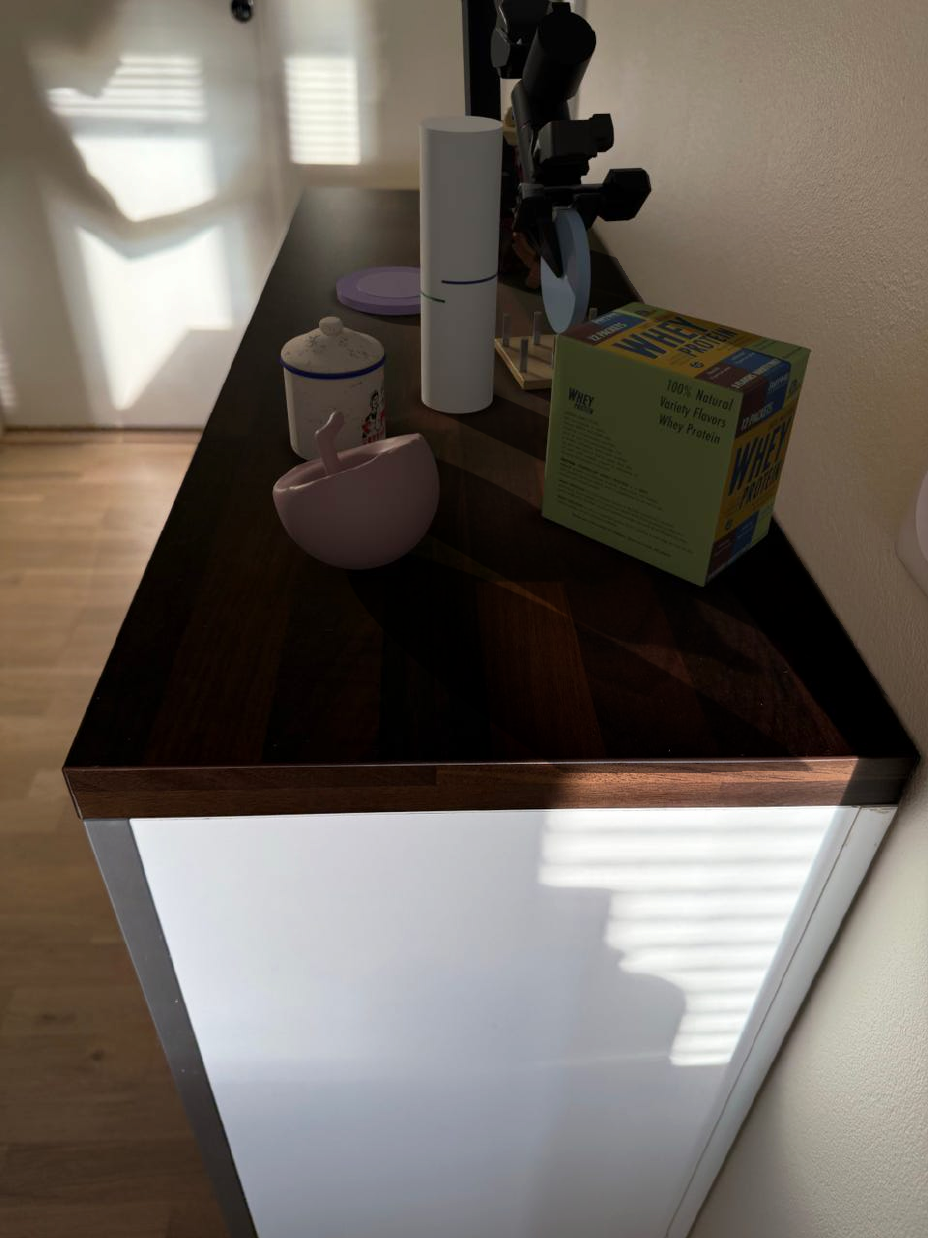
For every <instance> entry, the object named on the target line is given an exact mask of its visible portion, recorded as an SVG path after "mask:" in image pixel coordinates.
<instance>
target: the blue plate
mask: <svg viewBox="0 0 928 1238" xmlns="http://www.w3.org/2000/svg"><path fill="white" fill-rule="evenodd" d="M552 215H553V223H554V227H555V232H556V236H557V240H558V244H559V249H560V253H561V257H562V266H563V275H562V277H561V278H557V277H556V276H555V275H554V273H553V272H552V270H551V269H550V268H549V266H548V265H547V263H546V262H545V261H544V259H543V258H542V257H541V293H542V300H543V301H542V302H543V306H544V310H545V313H546V317H547V320H548V322H549V324H550V326H551V328H552V330H553V331H554V332H555V333H556V334H558V333H562V332H564V331H567V330H569V329H571V328H574V327H576V326H578V325H581V324H583V323H584V320H585V318H586V315H587V310H588V305H589V300H590V292H591V275H592V274H591V272H592V271H591V269H592V268H591V255H590V254H591V253H590V245H589V238H588V235H587V234H588V233H587V234H586V230H585V227H584V224H583V221H582V219H581V217H580V215H579V214H578V212H577V211H576V210H574V209H571V208H568V209H567V208H557V209H554V211H553V212H552Z"/></svg>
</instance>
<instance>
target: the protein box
mask: <svg viewBox="0 0 928 1238" xmlns="http://www.w3.org/2000/svg"><path fill="white" fill-rule="evenodd" d="M557 334H558V333H557ZM811 353H812V349H810V348H808V347H805V346H801V345H798V344H794V343H790V342H786V341H783V340H779V339H774V338H770V337H766V336H762V335H759V334H756V333H753V332H749V331H745V330H743V329H739V328H737V327H736V328H735V327H732V326H728V325H724V324H721V323H717V322H715V321H714V322H713V321H710V320H706V319H702V318H698V317H694V316H691V315H686V314H683V313H679V312H675V311H672V310H669V309H665V308H661V307H658V306H654V305H651V304H646V303H643V302H638V301H632V302H630V303H627V304H626V305H624V306H620V307H619V308H616V309H613V310H612V311H609V312H607V313H605V314H602V315H600V316H597V318H595V319H593V320H590V321H589V320H588V321H585V322H583V323H582V324H581V325H578V326H576V327H574V328H571V329H569V330H567V331H564V332H562V333H559V334H558V335H557V336H556V345H555V357H554V368H553V381H552V388H551V392H550V393H551V395H550V407H549V418H548V419H549V420H548V431H547V443H546V452H545V453H546V455H545V467H544V479H543V489H542V491H543V492H542V500H541V502H542V503H541V511H540V514H541V517H542V518H545V519H546V520H549V521H552V522H554V523H556V524H558V525H560V526H562V527H565V528H567V529H570V530H571V531H573V532H576V533H579V534H581V535H583V536H585V537H587V538H590V539H593V540H595V541H597V542H599V543H601V544H603V545H606V546H608V547H610V548H612V549H614V550H617V551H619V552H622V553H624V554H626V555H628V556H630V557H633V558H635V559H637V560H639V561H642V562H644V563H646V564H648V565H651V566H653V567H656V568H657V569H660V570H662V571H665V573H669V574H671V575H673V576H676V577H677V578H680V579H683V580H685V581H687V582H689V583H691V584H694V585H696V586H698V587H701V588H704V587H706V586H707V585H708V584H709V583H710V582H711V581H712V580H713V579H715V578H716V577H717V576H719V575H720V574H721V573H722V572H723V571H725V570H726V569H727V568H728V567H730V566H731V565H732V564H733V563H734V562H736V561H737V560H738V559H739V558H740V557H742V556H743V555H744V554H745V553H747V552H748V551H749V550H750V549H751V548H753V547H754V546H755V545H757V543H759V542H760V541H761V540H762V539H764V538H765V537H766V536H767V535H768V533H769V529H770V524H771V520H772V516H773V512H774V507H775V503H776V498H777V493H778V489H779V485H780V481H781V476H782V472H783V469H784V468H783V467H784V464H785V461H786V455H787V451H788V448H789V447H788V446H789V442H790V439H791V435H792V434H791V433H792V430H793V425H794V421H795V417H796V413H797V409H798V404H799V399H800V395H801V393H802V387H803V384H804V379H805V375H806V371H807V367H808V363H809V359H810V355H811Z"/></svg>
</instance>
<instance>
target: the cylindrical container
mask: <svg viewBox="0 0 928 1238" xmlns="http://www.w3.org/2000/svg"><path fill="white" fill-rule="evenodd" d="M418 124H419V125H418V126H419V127H418V128H419V129H418V132H419V134H418V135H419V136H418V137H419V140H418V141H419V246H420V247H419V248H420V249H419V254H420V255H419V259H420V260H419V262H420V267H419V268H421V314H420V341H421V342H420V355H421V356H420V358H421V359H420V361H421V363H420V364H421V365H420V369H421V372H420V374H421V375H420V378H421V379H420V380H421V381H420V382H421V383H420V384H421V401H422V404H424V405H425V406H426V407H428V408H430V409H432V410H435V411H438V412H442V413H446V414H470V413H475V412H478V411H482V410H484V409H486V408H488V407H489V406H490V405H491V404H492V402H493V398H494V378H495V377H494V375H495V374H494V373H495V350H496V348H495V338H496V324H497V323H496V322H497V295H498V294H497V293H498V271H499V270H498V247H499V220H500V194H501V168H502V142H503V123H502V122H500V121H497V120H494V119H490V118H484V117H476V116H465V115H439V116H432V117H428V118H424V119H422V120H420V121H419V122H418Z"/></svg>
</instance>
